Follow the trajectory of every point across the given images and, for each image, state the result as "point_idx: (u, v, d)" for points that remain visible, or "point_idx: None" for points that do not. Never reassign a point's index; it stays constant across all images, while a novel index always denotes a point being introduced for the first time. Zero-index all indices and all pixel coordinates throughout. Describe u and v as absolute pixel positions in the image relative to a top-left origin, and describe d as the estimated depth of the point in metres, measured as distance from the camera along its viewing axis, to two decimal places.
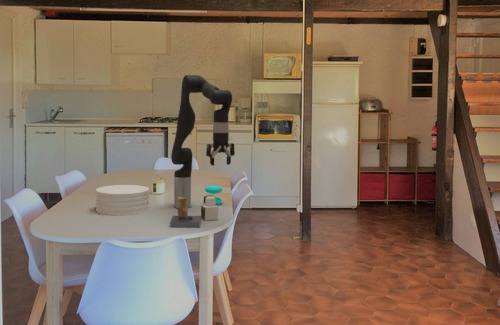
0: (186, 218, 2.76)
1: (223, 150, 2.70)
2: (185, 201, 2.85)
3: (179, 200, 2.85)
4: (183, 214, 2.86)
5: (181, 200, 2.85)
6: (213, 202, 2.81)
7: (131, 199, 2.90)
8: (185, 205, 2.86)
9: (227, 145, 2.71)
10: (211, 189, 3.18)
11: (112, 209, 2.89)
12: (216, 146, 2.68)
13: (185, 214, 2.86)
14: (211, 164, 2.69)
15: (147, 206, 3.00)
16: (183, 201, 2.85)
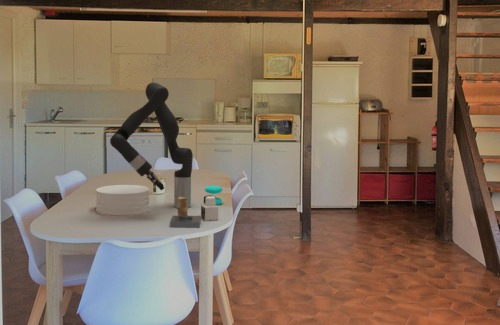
0: (186, 218, 2.76)
1: None
2: (185, 201, 2.85)
3: (179, 200, 2.85)
4: (183, 214, 2.86)
5: (181, 200, 2.85)
6: (213, 202, 2.81)
7: (131, 199, 2.90)
8: (185, 205, 2.86)
9: None
10: (211, 189, 3.18)
11: (112, 209, 2.89)
12: None
13: (185, 214, 2.86)
14: (162, 185, 2.90)
15: (147, 206, 3.00)
16: (183, 201, 2.85)
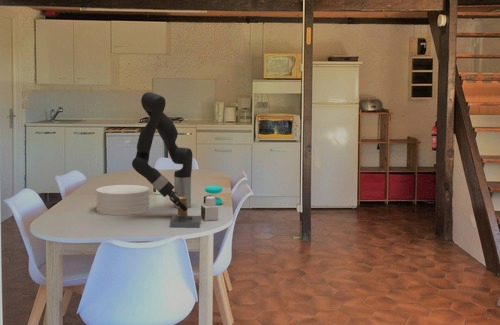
0: (186, 218, 2.76)
1: None
2: (185, 201, 2.85)
3: None
4: (183, 214, 2.86)
5: (181, 200, 2.85)
6: (213, 202, 2.81)
7: (131, 199, 2.90)
8: (185, 205, 2.86)
9: (170, 197, 2.84)
10: (211, 189, 3.18)
11: (112, 209, 2.89)
12: None
13: (185, 214, 2.86)
14: None
15: (147, 206, 3.01)
16: (183, 201, 2.85)
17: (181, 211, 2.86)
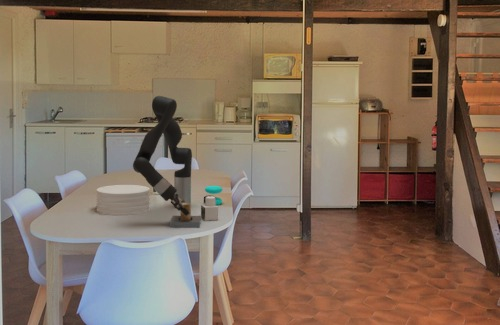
0: None
1: None
2: (188, 207, 2.70)
3: None
4: None
5: (184, 206, 2.70)
6: (213, 202, 2.81)
7: (132, 199, 2.91)
8: None
9: None
10: (211, 189, 3.18)
11: (113, 209, 2.89)
12: None
13: None
14: None
15: (148, 206, 3.01)
16: (186, 207, 2.70)
17: (184, 218, 2.71)
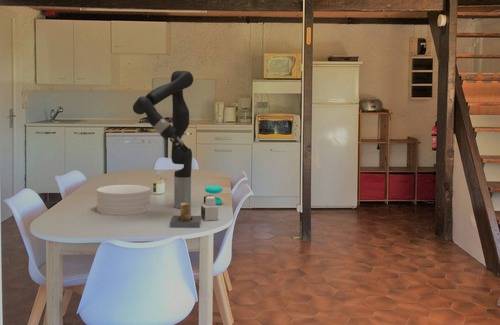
0: None
1: None
2: (188, 207, 2.70)
3: (182, 206, 2.70)
4: None
5: (184, 206, 2.70)
6: (213, 202, 2.81)
7: (132, 199, 2.91)
8: (188, 212, 2.70)
9: None
10: (211, 189, 3.18)
11: (113, 209, 2.90)
12: None
13: None
14: (187, 149, 2.92)
15: (148, 206, 3.01)
16: (186, 207, 2.70)
17: (184, 218, 2.71)
